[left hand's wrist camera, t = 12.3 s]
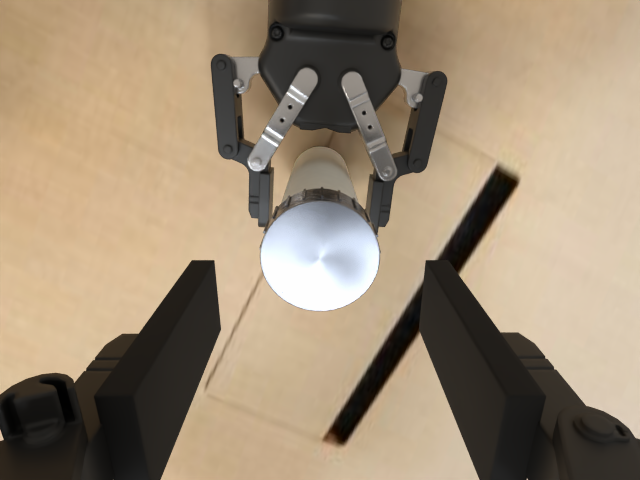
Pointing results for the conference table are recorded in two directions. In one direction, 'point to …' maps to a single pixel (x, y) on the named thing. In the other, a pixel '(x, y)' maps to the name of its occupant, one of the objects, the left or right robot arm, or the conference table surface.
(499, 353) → the left robot arm
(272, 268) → the lid
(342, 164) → the white cylindrical bottle
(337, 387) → the conference table surface
